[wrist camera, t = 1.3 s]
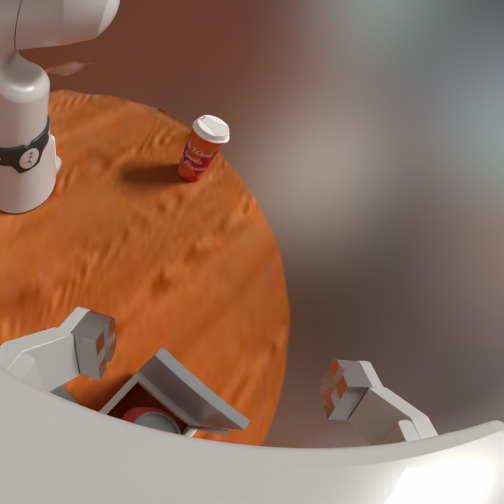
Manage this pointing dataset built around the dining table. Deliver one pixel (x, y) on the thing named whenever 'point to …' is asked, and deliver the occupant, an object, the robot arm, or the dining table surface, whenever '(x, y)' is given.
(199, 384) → the case
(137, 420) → the beer can
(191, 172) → the paper cup
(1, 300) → the dining table surface
